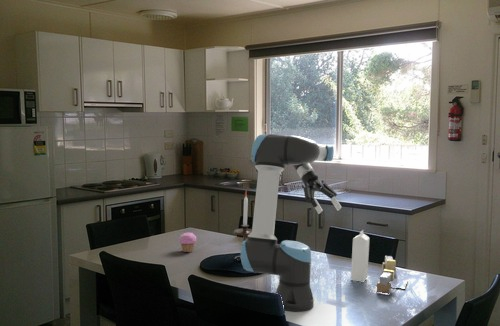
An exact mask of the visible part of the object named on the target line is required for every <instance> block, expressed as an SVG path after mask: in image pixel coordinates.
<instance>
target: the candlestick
mask: <svg viewBox="0 0 500 326" xmlns="http://www.w3.org/2000/svg"><path fill="white" fill-rule="evenodd" d="M247 192H248V190H245V192H244V198H243V220H242V224H241V225H240V226H241V227H242V228H241V227H240V228H235V229H234V230H233V234H235V235H236V236H237V235H238V236H242V237H243V238H242V239H243V240H242V242H243V241H245V240H247V237H248V235H249V234H250V233H251V232H252V228H248V227H249V226H250V225H249V224H248V207H249V206H248V205H249V203H248V202H249V200H248V197H247V195H248V194H247ZM237 257H240V259H241V254H240V255H237V256H236V255H235V257H234V260H235V259H236V258H237ZM237 260H238V259H237Z"/></svg>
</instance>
